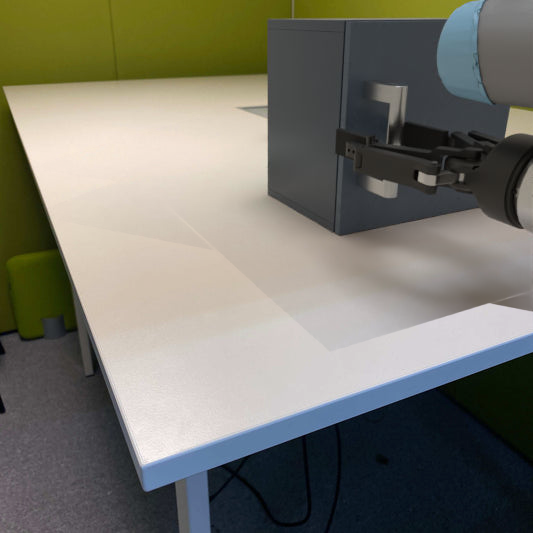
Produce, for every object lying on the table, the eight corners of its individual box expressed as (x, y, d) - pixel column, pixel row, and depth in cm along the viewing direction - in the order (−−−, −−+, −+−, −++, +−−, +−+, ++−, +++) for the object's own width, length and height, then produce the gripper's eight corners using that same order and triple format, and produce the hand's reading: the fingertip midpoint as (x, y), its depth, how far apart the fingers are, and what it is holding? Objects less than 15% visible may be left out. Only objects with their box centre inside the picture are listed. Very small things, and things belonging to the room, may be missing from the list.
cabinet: (485, 203, 79) (517, 18, 69) (333, 233, 69) (344, 20, 58) (404, 173, 94) (420, 17, 84) (267, 195, 83) (267, 18, 73)
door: (527, 216, 74) (568, 20, 64) (368, 252, 63) (386, 22, 53) (487, 202, 79) (519, 19, 69) (334, 233, 68) (345, 21, 58)
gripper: (437, 254, 41) (290, 181, 60) (614, 211, 50) (439, 159, 69) (451, 155, 38) (291, 110, 57) (637, 128, 47) (447, 96, 65)
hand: (372, 137), depth 63 cm, fingers open, 9 cm apart
